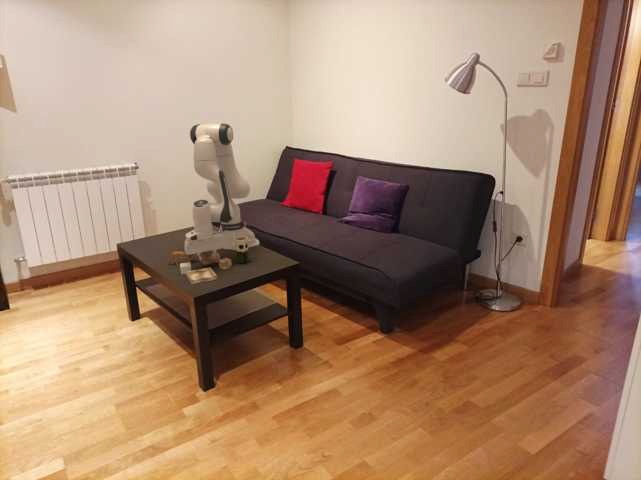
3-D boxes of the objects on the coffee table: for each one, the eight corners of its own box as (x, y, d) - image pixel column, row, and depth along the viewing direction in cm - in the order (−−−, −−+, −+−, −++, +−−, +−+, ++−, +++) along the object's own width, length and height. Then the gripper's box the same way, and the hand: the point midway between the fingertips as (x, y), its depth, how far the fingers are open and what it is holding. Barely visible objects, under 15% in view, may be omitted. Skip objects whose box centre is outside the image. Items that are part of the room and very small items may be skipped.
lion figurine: (195, 259, 256) (194, 243, 253) (198, 262, 251) (196, 246, 249) (167, 264, 250) (165, 247, 247) (169, 267, 245) (167, 250, 242)
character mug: (236, 266, 246) (234, 241, 241) (230, 262, 251) (228, 238, 247) (255, 261, 251) (253, 237, 247) (248, 257, 257) (247, 234, 253)
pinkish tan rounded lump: (219, 259, 255) (218, 252, 253) (221, 262, 251) (220, 254, 250) (211, 261, 253) (210, 253, 252) (213, 263, 250) (212, 256, 248)
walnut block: (210, 260, 247) (209, 251, 245) (213, 263, 243) (212, 254, 241) (201, 262, 245) (200, 253, 243) (204, 265, 241) (203, 255, 240)
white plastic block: (191, 269, 242) (190, 262, 241) (191, 273, 237) (190, 265, 236) (180, 270, 241) (180, 263, 240) (180, 274, 236) (180, 266, 235)
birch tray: (210, 271, 239) (210, 267, 239) (217, 279, 229) (216, 275, 229) (186, 275, 234) (185, 271, 234) (191, 284, 224) (191, 280, 224)
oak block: (226, 265, 248) (226, 257, 246) (231, 267, 244) (231, 260, 243) (219, 267, 245) (218, 259, 244) (223, 269, 242) (223, 262, 240)
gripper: (222, 227, 246) (225, 253, 251) (182, 234, 237) (185, 261, 242) (226, 231, 241) (228, 257, 245) (185, 238, 232) (188, 265, 236)
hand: (207, 259), depth 243 cm, fingers closed on walnut block, 4 cm apart
